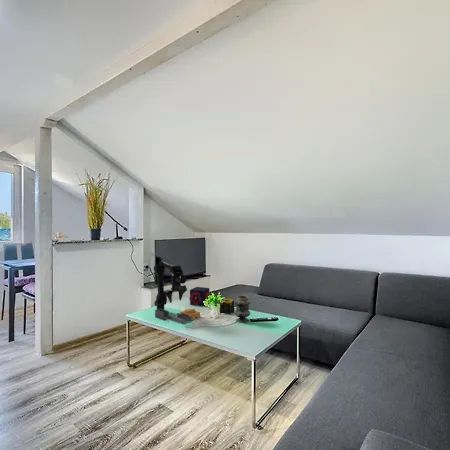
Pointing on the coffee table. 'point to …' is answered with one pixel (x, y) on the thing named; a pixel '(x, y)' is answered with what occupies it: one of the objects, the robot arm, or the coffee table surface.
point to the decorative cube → (198, 295)
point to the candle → (227, 306)
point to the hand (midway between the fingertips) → (175, 301)
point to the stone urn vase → (242, 308)
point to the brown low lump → (191, 313)
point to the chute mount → (180, 318)
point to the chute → (162, 314)
